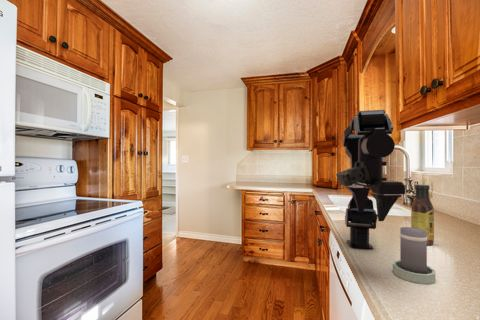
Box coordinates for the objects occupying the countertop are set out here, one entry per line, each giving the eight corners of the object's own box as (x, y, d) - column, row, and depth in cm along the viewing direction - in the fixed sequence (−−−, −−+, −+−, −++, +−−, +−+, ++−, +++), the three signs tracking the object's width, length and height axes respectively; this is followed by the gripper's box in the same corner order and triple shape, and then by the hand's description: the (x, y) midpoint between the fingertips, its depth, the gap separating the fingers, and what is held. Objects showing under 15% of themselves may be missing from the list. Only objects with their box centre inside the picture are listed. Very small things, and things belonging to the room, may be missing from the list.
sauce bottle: (435, 247, 78) (434, 186, 78) (411, 243, 82) (411, 184, 82) (433, 241, 83) (433, 184, 84) (411, 238, 87) (411, 183, 87)
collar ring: (388, 266, 63) (388, 259, 63) (423, 269, 61) (423, 261, 61) (401, 281, 55) (401, 272, 55) (443, 285, 53) (443, 276, 53)
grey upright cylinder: (396, 269, 61) (396, 226, 62) (420, 271, 60) (419, 227, 60) (406, 279, 56) (406, 232, 56) (432, 282, 55) (431, 233, 55)
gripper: (326, 157, 73) (326, 209, 73) (359, 158, 54) (359, 227, 54) (362, 157, 73) (362, 208, 73) (407, 158, 55) (407, 226, 55)
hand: (370, 216), depth 64 cm, fingers open, 9 cm apart
